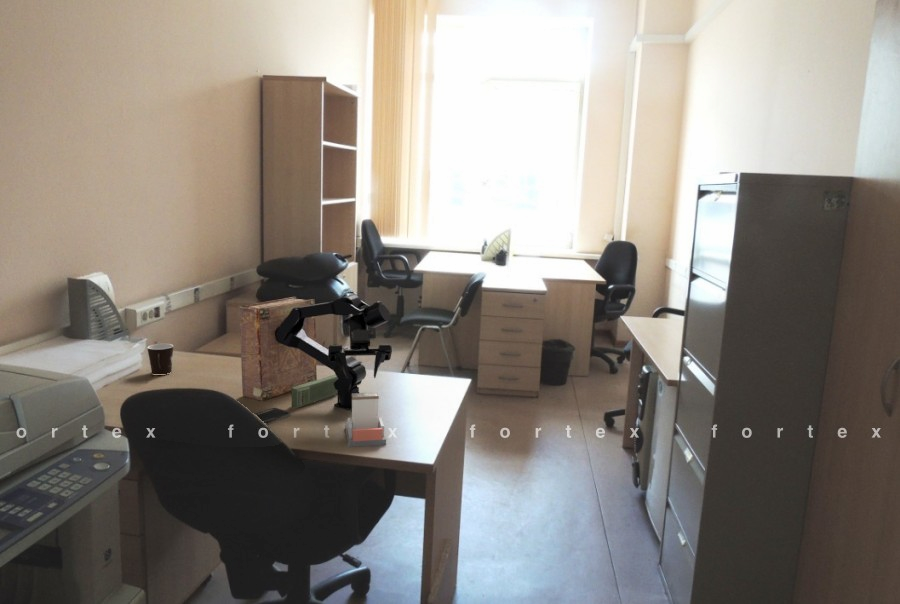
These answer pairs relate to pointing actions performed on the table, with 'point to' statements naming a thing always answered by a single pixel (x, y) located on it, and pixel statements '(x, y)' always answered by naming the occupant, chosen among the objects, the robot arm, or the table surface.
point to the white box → (364, 410)
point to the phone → (272, 415)
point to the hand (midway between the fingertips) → (361, 377)
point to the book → (273, 350)
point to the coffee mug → (160, 358)
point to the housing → (365, 435)
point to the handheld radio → (313, 391)
